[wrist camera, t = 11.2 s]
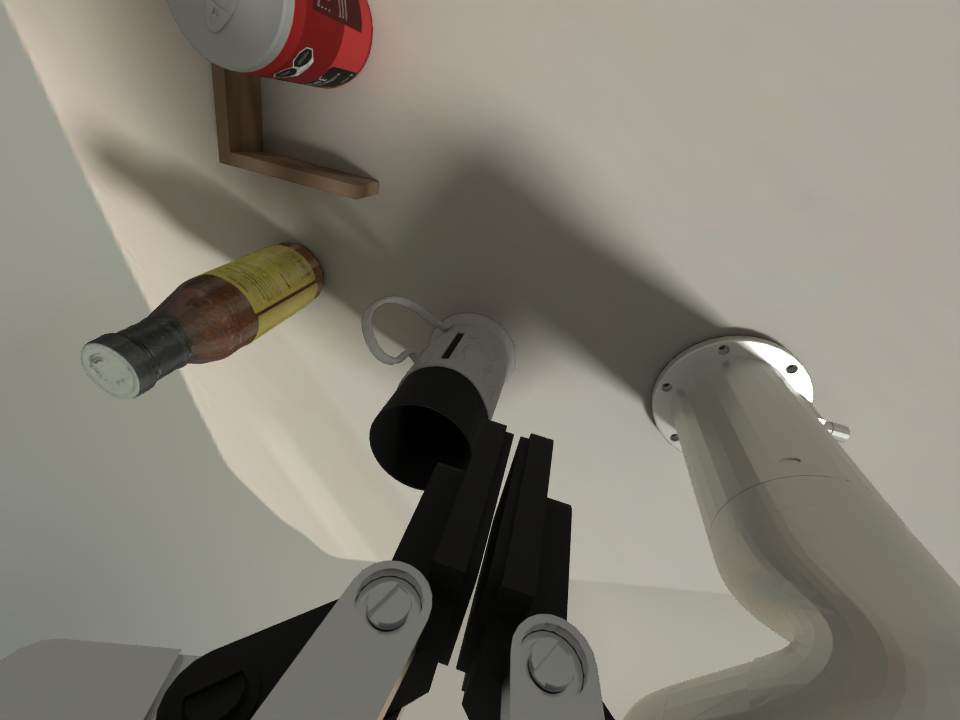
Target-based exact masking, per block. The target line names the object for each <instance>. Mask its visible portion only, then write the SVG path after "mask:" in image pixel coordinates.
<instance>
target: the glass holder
mask: <svg viewBox="0 0 960 720" xmlns="http://www.w3.org/2000/svg"><path fill="white" fill-rule="evenodd" d="M384 303H397V304H401V305H404V306H406V307H408V308H410V309H412V310H413V311H415V312H416V313H417V314H419V315H420V316H422V317H423V318H424V319H425V320H426V321H428V322H429V323H430V324H432V325H433V326H434V327H436V329H435V330H434V332H433V334H432V337H431V340H430V344H429V345H428V347H427V348H426V349H425V350H424V352H423V353H422V354H421V356H420V355H419V353H418V352H417V351H416V350H414V349H408V350H405V351H404V352H402V353H401V354H400V355H399V356H398V357H396V358H394V357H391V356H389V355H387V354H386V353H385V352H384V351H383V350H382V349H381V348H380V346H379V344H378V342H377V340H376V338H375V335H374V332H373V329H372V322H371V320H372V316H373V312H374V311H375V310H376V308H377V307H378V306H380V305H382V304H384ZM361 323H362V331H363V335H364V338H365V341H366V344H367V345H368V347H369V349H370V351H371V353H372V354H373V355H374V356H375V357H376V358H377V359H378V360H379V361H381V362H382V363H385V364H388V365H393V364H397V363H400V362H402V361H403V360H405V359H406V358H407V357H408V356H410V358H411V359H412V360H413V362H414V365H413V366H412V367H411V369H410V370H409V371H408V372H407V374H406V375H405V376H404V378H403V379H402V380H401V382H400V384H399V385H398V388H397V390H396V392H395V393H394V394H393V396H392V397H391V398H390V400H389V401H388V402H387V404H386V405H385V406H384V407H383V409H382V410H381V411H380V413H379V414H378V415H377V417H376V418H375V420H374V421H373V423H372V425H371V429H370V438H369V439H370V446H371V449H372V452H373V454H374V456H375V458H376V460H377V461H378V463H379V464H380V465H381V467H382V468H383V469H384V470H385V471H386V472H387V473H388V474H389V475H391V476H392V477H393V478H394V479H396V480H398V481H399V482H401V483H403V484H405V485H407V486H409V487H412V488H415V489H418V490H424V491H425V489H426V486H427V484H428V482H429V480H430V478H431V476H432V474H433V471H434V469H435V467H436V465H437V464H438V463H439V462H440V463H443V464H446V465H449V466H452V467H455V468H458V469H461V470H464V471H467V468H468V465H469V463H470V460H471V457H472V454H473V452H474V449H475V446H476V444H477V441H478V438H479V436H480V433H481V430H482V427H483V425H484V422H485V420H486V419H487V420H490V421H491V419H492V416H493V413H494V410H495V408H496V405H497V402H498V399H499V396H500V393H501V390H502V388H503V385H504V383H505V382H506V381H507V380H508V379H509V377H510V376H511V374H512V372H513V370H514V367H515V362H516V354H515V348H514V345H513V342H512V340H511V338H510V336H509V335H508V333H507V332H506V331H505V330H504V328H502V327H501V326H500V325H499V324H498V323H497V322H495V321H493V320H492V319H490V318H488V317H485V316H483V315H479V314H475V313H461V314H456V315H453V316H451V317H449V318H447V319H445V320H444V321H442V322H440V321H439V320H438V319H437V318H435V317H434V316H433V315H432V314H430V313H429V312H428V311H427V310H425V309H424V308H423V307H421V306H420V305H419V304H417V303H416V302H414V301H413V300H411V299H408V298H405V297H399V296H390V297H384V298H382V299H379V300H378V301H376V302H374V303H373V304H371V305H370V306H369V307H368V308H367V309H366V310H365V312H364V313H363V317H362V322H361Z"/></svg>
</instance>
